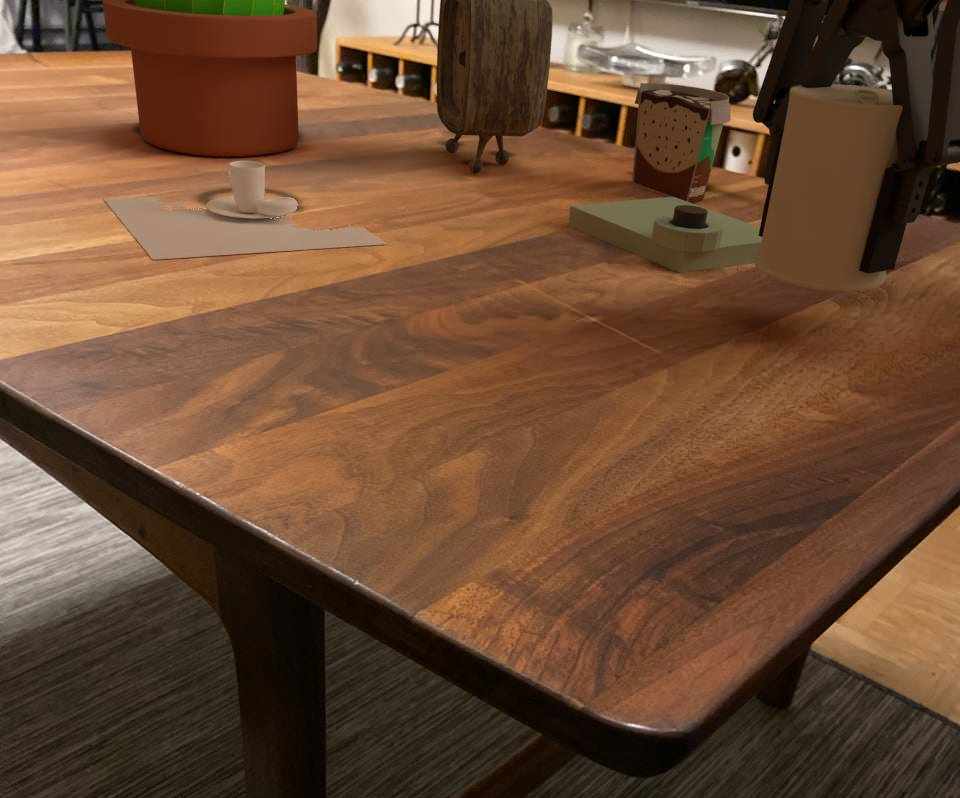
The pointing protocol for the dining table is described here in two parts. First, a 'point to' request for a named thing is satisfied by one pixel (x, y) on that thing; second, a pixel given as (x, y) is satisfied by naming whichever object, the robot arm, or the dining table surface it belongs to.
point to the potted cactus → (215, 71)
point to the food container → (677, 138)
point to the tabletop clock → (492, 70)
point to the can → (828, 186)
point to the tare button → (689, 217)
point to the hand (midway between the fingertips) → (823, 251)
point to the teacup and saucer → (229, 222)
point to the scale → (669, 234)
